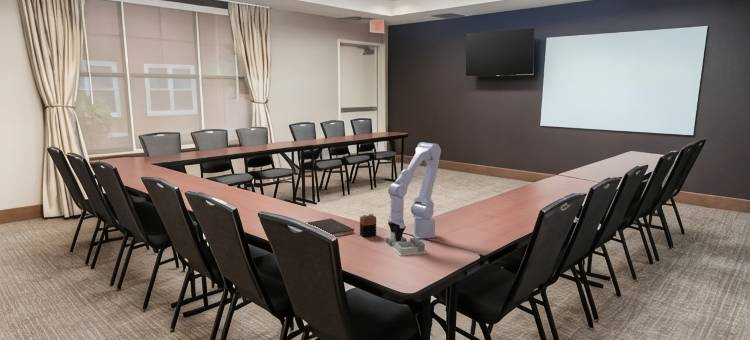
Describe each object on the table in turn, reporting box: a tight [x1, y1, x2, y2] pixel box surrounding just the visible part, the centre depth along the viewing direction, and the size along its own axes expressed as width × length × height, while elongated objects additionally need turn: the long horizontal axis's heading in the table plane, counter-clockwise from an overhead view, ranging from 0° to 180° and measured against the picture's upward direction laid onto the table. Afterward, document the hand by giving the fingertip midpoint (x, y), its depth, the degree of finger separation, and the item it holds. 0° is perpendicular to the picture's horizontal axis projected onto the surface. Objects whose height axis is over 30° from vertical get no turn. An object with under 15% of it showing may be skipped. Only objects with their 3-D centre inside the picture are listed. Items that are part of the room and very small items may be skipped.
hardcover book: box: [306, 218, 355, 237], centre depth 220 cm, size 16×23×2 cm
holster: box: [385, 235, 408, 246], centre depth 202 cm, size 8×5×2 cm, turn 108°
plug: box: [390, 231, 402, 245], centre depth 201 cm, size 4×4×6 cm
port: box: [391, 237, 428, 257], centre depth 192 cm, size 12×10×4 cm
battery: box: [359, 213, 377, 238], centre depth 211 cm, size 4×7×10 cm, turn 116°
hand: (396, 239), depth 201 cm, fingers closed on plug, 4 cm apart
